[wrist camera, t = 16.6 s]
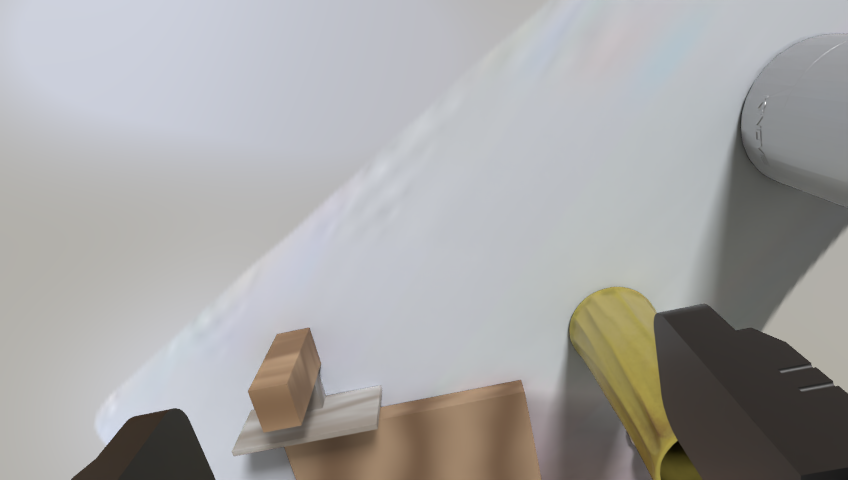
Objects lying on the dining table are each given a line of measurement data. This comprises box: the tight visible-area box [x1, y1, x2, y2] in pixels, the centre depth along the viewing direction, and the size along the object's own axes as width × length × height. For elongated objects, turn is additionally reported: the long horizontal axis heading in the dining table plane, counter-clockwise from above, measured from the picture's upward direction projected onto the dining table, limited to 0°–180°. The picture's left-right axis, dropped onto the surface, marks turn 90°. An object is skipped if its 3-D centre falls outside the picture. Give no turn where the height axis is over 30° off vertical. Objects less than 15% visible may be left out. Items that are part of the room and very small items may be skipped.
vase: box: [569, 287, 702, 480], centre depth 33 cm, size 6×6×14 cm
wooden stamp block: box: [232, 328, 382, 456], centre depth 37 cm, size 6×10×7 cm, turn 103°
